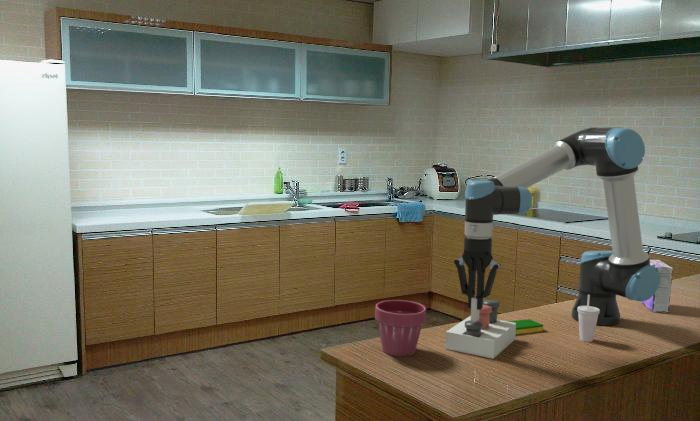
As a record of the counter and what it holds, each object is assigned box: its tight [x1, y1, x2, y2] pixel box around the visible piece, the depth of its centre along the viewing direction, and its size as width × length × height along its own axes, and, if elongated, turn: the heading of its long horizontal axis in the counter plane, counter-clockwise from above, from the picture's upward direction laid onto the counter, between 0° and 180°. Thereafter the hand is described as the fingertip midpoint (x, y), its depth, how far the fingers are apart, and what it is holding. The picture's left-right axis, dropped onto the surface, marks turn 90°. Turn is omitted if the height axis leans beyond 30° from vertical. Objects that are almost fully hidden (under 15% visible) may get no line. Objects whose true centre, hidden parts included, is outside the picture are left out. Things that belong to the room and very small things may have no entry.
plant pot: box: [374, 299, 427, 357], centre depth 179 cm, size 14×14×13 cm
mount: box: [444, 315, 517, 360], centre depth 187 cm, size 14×20×5 cm
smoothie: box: [577, 294, 600, 343], centre depth 192 cm, size 6×6×14 cm
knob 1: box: [465, 320, 483, 337], centre depth 181 cm, size 5×5×6 cm
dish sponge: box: [507, 318, 544, 335], centre depth 202 cm, size 7×14×2 cm, turn 113°
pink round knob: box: [477, 305, 492, 329], centre depth 186 cm, size 5×5×6 cm
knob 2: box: [483, 299, 501, 323], centre depth 192 cm, size 5×5×6 cm
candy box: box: [640, 259, 674, 313], centre depth 231 cm, size 14×6×16 cm, turn 172°
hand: (474, 319), depth 180 cm, fingers closed
